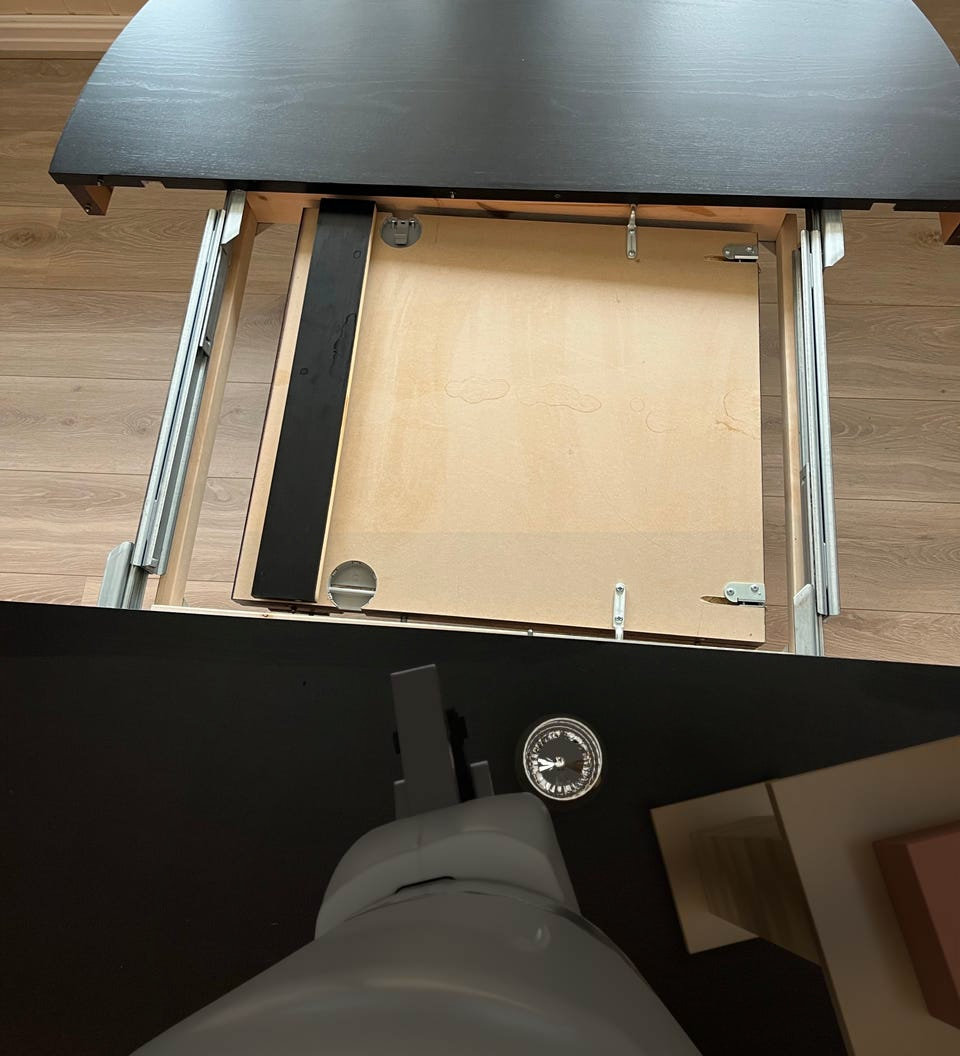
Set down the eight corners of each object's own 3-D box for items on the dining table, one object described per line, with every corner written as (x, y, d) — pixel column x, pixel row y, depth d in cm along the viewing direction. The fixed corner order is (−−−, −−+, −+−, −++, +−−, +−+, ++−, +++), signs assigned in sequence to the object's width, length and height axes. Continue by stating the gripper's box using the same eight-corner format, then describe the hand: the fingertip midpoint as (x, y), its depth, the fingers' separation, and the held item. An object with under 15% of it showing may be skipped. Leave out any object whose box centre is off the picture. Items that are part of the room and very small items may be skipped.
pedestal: (829, 925, 69) (1203, 1051, 31) (681, 962, 69) (879, 1136, 31) (780, 769, 73) (1062, 710, 35) (639, 803, 73) (769, 781, 34)
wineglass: (502, 743, 74) (499, 729, 63) (578, 712, 75) (588, 693, 64) (533, 825, 72) (535, 826, 61) (610, 793, 73) (627, 788, 62)
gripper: (887, 1850, 14) (688, 1290, 30) (564, 561, 20) (544, 674, 36) (314, 2010, 13) (426, 1357, 29) (165, 649, 19) (325, 724, 35)
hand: (491, 982), depth 33 cm, fingers open, 9 cm apart
